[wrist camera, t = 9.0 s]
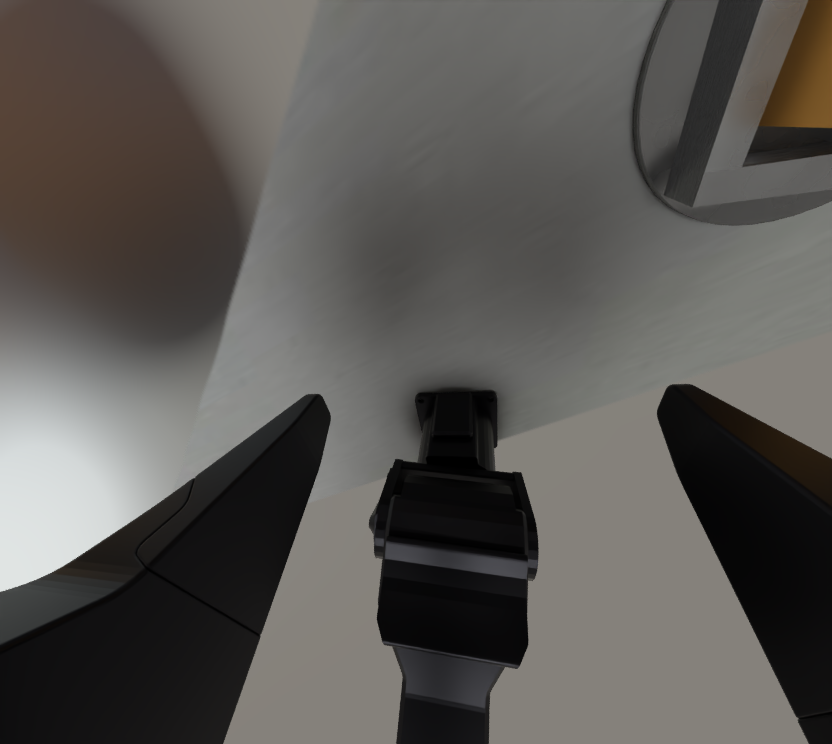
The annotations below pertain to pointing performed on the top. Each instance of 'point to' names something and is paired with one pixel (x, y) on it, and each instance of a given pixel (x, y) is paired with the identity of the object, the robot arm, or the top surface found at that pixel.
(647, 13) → the top surface
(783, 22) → the rosette collar
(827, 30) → the orange rectangular block
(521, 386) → the top surface
